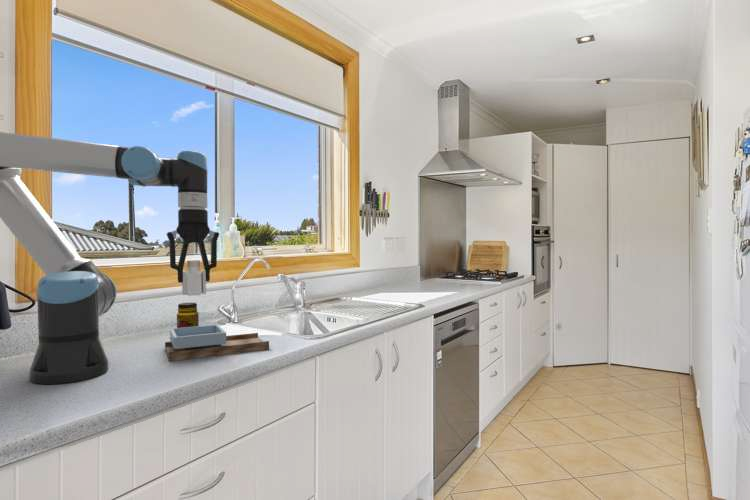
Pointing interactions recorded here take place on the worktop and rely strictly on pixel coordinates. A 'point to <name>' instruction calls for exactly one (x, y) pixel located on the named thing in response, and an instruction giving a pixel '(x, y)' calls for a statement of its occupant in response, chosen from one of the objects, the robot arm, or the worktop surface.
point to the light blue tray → (197, 336)
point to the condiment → (187, 315)
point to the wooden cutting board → (219, 347)
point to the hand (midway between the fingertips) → (194, 293)
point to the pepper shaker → (193, 278)
